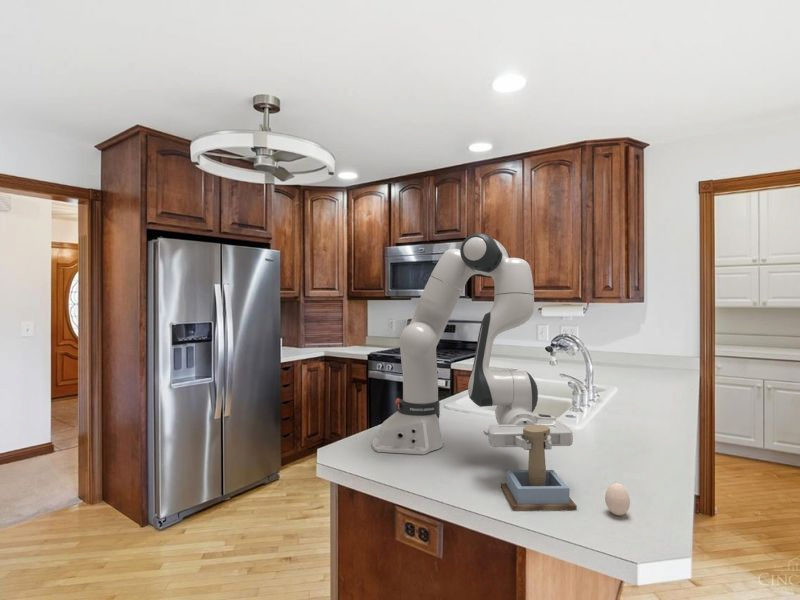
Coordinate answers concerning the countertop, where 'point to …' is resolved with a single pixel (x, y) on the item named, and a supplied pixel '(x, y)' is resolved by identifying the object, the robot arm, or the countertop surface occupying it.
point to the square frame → (537, 488)
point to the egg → (617, 499)
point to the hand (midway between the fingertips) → (538, 446)
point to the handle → (536, 453)
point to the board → (534, 506)
